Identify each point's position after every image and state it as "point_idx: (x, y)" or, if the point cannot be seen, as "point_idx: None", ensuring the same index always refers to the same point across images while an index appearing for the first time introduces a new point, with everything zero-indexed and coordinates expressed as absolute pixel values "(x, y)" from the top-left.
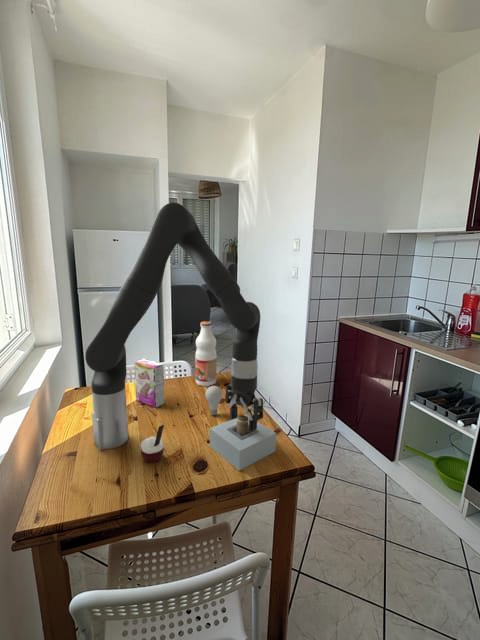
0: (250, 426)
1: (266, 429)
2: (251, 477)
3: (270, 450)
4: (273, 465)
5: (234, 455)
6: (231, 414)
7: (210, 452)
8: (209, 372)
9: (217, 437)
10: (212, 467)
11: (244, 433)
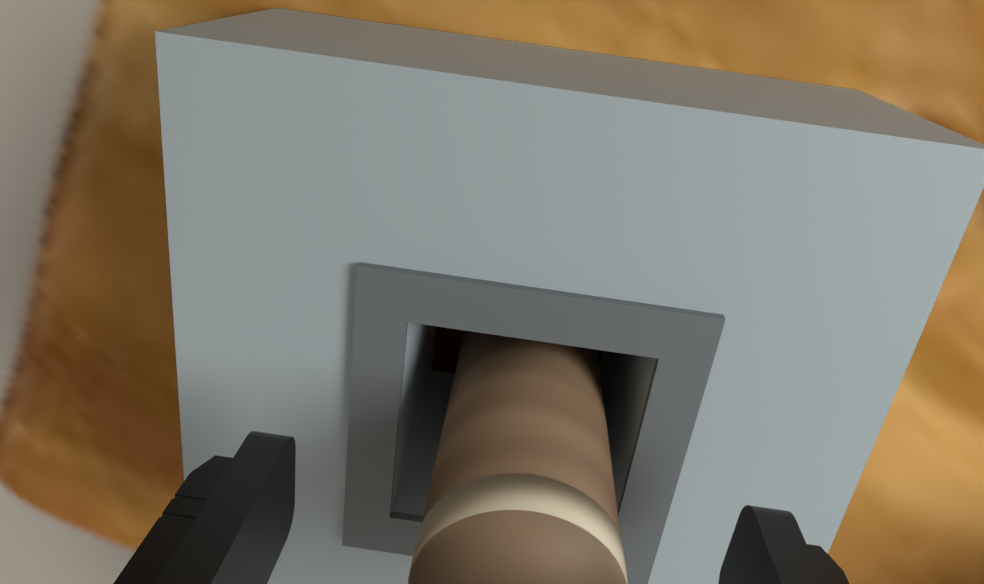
0: (215, 489)
1: None
2: (118, 25)
3: None
4: (135, 313)
5: (321, 32)
6: (785, 571)
7: (768, 7)
8: None
9: (744, 105)
10: None
11: (448, 406)
